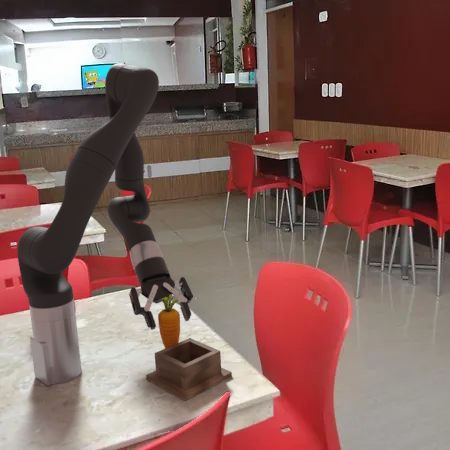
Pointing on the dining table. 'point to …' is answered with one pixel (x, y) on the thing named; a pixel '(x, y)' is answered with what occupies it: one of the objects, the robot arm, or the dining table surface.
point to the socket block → (188, 368)
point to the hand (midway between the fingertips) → (171, 323)
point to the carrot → (169, 323)
